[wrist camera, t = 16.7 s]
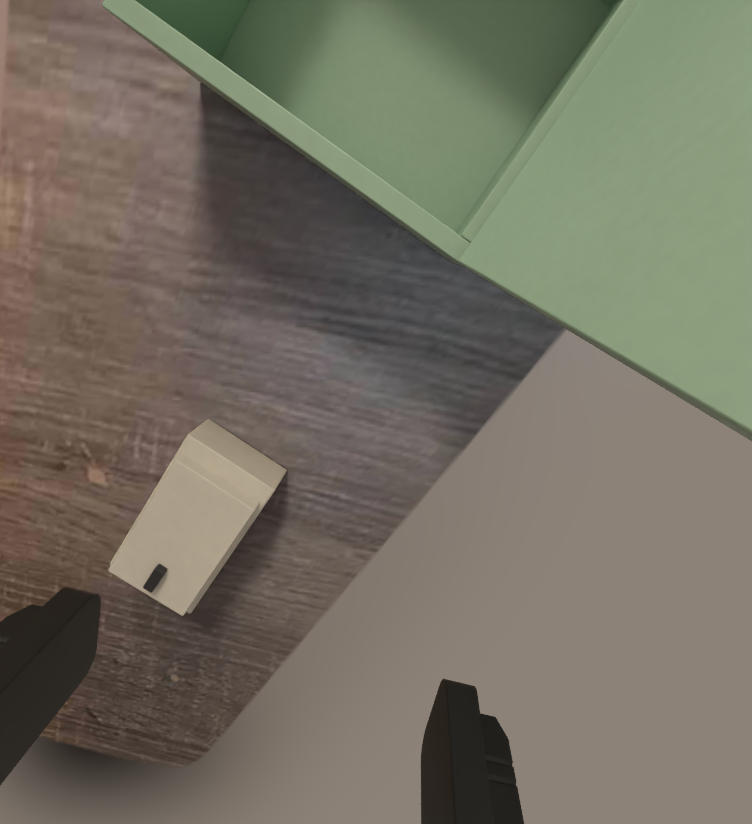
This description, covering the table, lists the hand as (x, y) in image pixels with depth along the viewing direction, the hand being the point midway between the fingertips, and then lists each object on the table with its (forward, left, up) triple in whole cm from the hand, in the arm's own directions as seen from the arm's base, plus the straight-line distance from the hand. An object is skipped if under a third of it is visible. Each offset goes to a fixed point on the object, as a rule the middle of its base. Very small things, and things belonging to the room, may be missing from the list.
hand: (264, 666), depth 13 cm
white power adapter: (-4, -10, -20) cm, 23 cm away
